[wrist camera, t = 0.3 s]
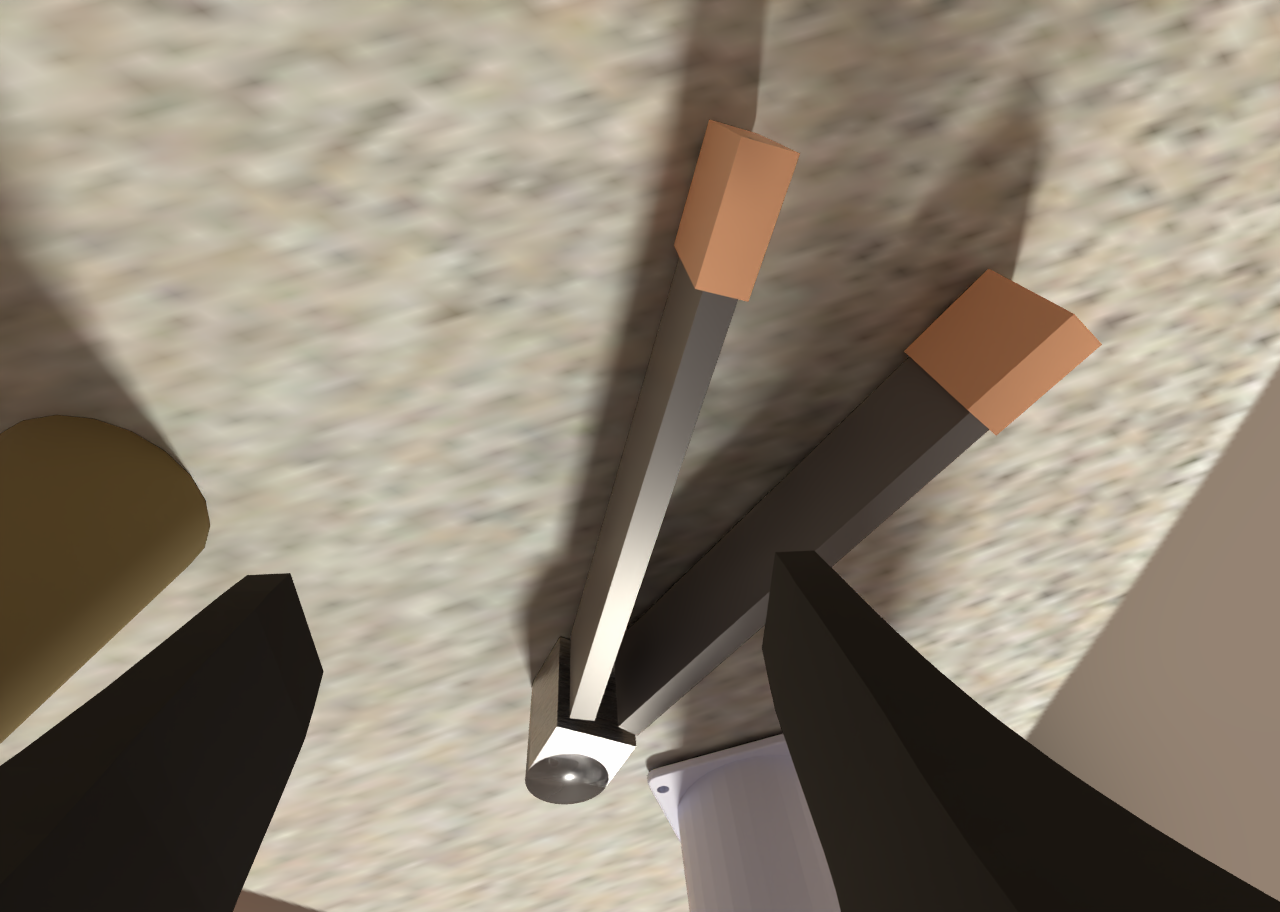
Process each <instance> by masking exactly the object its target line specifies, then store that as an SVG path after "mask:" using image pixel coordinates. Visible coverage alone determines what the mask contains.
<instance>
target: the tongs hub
mask: <svg viewBox="0 0 1280 912" xmlns="http://www.w3.org/2000/svg"><path fill="white" fill-rule="evenodd" d="M570 648H571V640H569V639H566V638H562V637H560V638H559V639H558V641H557V643H556V644H555V646H554V648H553V649H552V651H551V653H550V654H549V656H548V658H547V659H546V661H545V663H544V664H543V666H542V668H541V669H540V671H539V673H538V674H537V676H536V678H535V680H534V682H533V685H532V696H531V710H530V723H529V737H528V750H527V764H526V777H525V783H526V786H527V788H528V790H529V791H530V792H531V793H532V794H533V795H534V796H535V797H537V798H539V799H541V800H543V801H546V802H550V803H555V804H574V803H580V802H584V801H587V800H589V799H592V798H593V797H595V796H597V795H598V794H600V793H601V792H602V791H603V790H604V789H605V787H606V786H607V785H608V783H609V782H610V781H611V779H612V778H613V777H614V775H615V774H616V773H617V771H618V770H619V769H620V767H621V766H622V765H623V763H624V762H625V761H626V759H627V758H628V757H629V755H630V754H631V753H632V751H633V750H634V749H635V747H636V738H635V734H633V733H631V732H629V731H626V730H624V729H622V728H620V727H618V716H617V698H616V681H615V663H614V665H613V668H612V671H611V674H610V677H609V680H608V683H607V685H606V688H605V691H604V694H603V697H602V700H601V703H600V706H599V709H598V712H597V715H596V718H595V721H592V720H583V719H573V718H569V716H570Z"/></svg>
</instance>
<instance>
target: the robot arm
mask: <svg viewBox="0 0 1280 912" xmlns="http://www.w3.org/2000/svg"><path fill="white" fill-rule="evenodd" d="M762 650H763V655H764V660H765V665H766V670H767V675H768V680H769V684H770V689H771V693H772V697H773V702H774V706H775V711H776V714H777V717H778V720H779V723H780V726H781V729H782V732H783V734H780V735H776V736H773V737H769V738H765V739H762V740H758V741H754V742H751V743H747V744H743V745H740V746H736V747H732V748H729V749H725V750H721V751H718V752H714V753H710V754H707V755H703V756H699V757H696V758H692V759H689V760H685V761H681V762H678V763H674V764H670V765H667V766H663V767H659V768H656V769H653V770H651V771H650V772H649V773H648V775H647V779H648V785H649V787H650V789H651V791H652V792H653V794H654V796H655V798H656V800H657V801H658V803H659V805H660V807H661V809H662V810H663V812H664V814H665V816H666V818H667V819H668V821H669V823H670V825H671V827H672V828H673V830H674V832H675V834H676V836H677V837H678V839H679V841H680V843H681V848H682V856H683V863H684V871H685V879H686V887H687V895H688V902H689V910H690V912H1280V902H1279V901H1278V900H1276V899H1274V898H1272V897H1271V896H1269V895H1267V894H1265V893H1264V892H1262V891H1260V890H1258V889H1257V888H1255V887H1253V886H1251V885H1250V884H1248V883H1246V882H1244V881H1243V880H1241V879H1239V878H1237V877H1236V876H1234V875H1233V874H1231V873H1229V872H1227V871H1226V870H1224V869H1222V868H1220V867H1219V866H1217V865H1215V864H1214V863H1212V862H1210V861H1208V860H1207V859H1205V858H1203V857H1201V856H1200V855H1198V854H1196V853H1195V852H1193V851H1191V850H1190V849H1188V848H1186V847H1184V846H1183V845H1182V844H1180V843H1178V842H1177V841H1175V840H1173V839H1172V838H1170V837H1169V836H1167V835H1165V834H1164V833H1162V832H1160V831H1159V830H1157V829H1155V828H1154V827H1152V826H1151V825H1149V824H1147V823H1146V822H1144V821H1143V820H1141V819H1140V818H1138V817H1137V816H1135V815H1134V814H1132V813H1130V812H1129V811H1128V810H1126V809H1124V808H1123V807H1121V806H1120V805H1118V804H1117V803H1115V802H1114V801H1112V800H1111V799H1109V798H1108V797H1106V796H1104V795H1103V794H1101V793H1100V792H1099V791H1097V790H1095V789H1094V788H1092V787H1091V786H1089V785H1088V784H1086V783H1085V782H1083V781H1082V780H1081V779H1079V778H1077V777H1076V776H1075V775H1073V774H1072V773H1070V772H1069V771H1068V770H1066V769H1064V768H1063V767H1062V766H1060V765H1059V764H1057V763H1056V762H1055V761H1053V760H1052V759H1050V758H1049V757H1048V756H1046V755H1045V754H1044V753H1042V752H1041V751H1040V750H1038V749H1037V748H1036V747H1034V746H1033V745H1032V744H1030V743H1029V742H1028V741H1026V740H1025V739H1024V738H1022V737H1021V736H1019V735H1018V734H1017V733H1015V732H1014V731H1013V730H1011V729H1010V728H1009V727H1007V726H1006V725H1005V724H1003V723H1002V722H1001V721H999V720H998V719H997V718H996V717H994V716H993V715H992V714H991V713H989V712H988V711H987V710H986V709H984V708H983V707H982V706H981V705H979V704H978V703H977V702H976V701H974V700H973V699H972V698H971V697H970V696H968V695H967V694H966V693H965V692H964V691H963V690H961V689H960V688H959V687H958V686H957V685H955V684H954V683H953V682H952V681H951V680H949V679H948V678H947V677H946V676H945V675H944V674H942V673H941V672H940V671H939V670H938V669H937V668H935V667H934V666H933V665H932V664H931V663H930V662H929V661H928V660H926V659H925V658H924V657H923V656H922V655H921V654H920V653H919V652H918V651H917V650H915V649H914V648H913V647H912V646H911V645H910V644H909V643H908V642H907V641H906V640H905V639H904V638H903V637H902V636H900V635H899V634H898V633H897V632H896V631H895V630H894V629H893V628H892V627H891V626H890V625H889V624H888V623H887V622H886V621H885V620H884V619H883V618H882V617H880V616H879V615H878V614H877V613H876V612H875V611H874V610H873V609H872V608H871V607H870V606H869V605H868V604H867V603H866V602H865V601H864V600H863V599H862V598H861V597H860V596H859V595H858V594H857V593H856V592H855V591H854V590H853V589H852V588H851V587H850V586H849V585H848V584H847V583H846V582H845V581H844V580H843V579H842V578H841V577H840V576H839V575H838V574H837V573H836V572H835V571H834V570H833V569H832V568H831V567H830V566H829V565H828V564H827V563H826V562H825V561H824V560H823V559H822V558H821V557H820V556H819V555H818V554H817V553H816V552H815V551H791V552H775V557H774V564H773V571H772V579H771V586H770V593H769V601H768V608H767V616H766V623H765V630H764V638H763V645H762ZM322 675H323V669H322V666H321V663H320V660H319V657H318V654H317V651H316V648H315V645H314V642H313V639H312V636H311V633H310V630H309V627H308V624H307V621H306V618H305V615H304V612H303V609H302V606H301V604H300V601H299V598H298V595H297V592H296V589H295V586H294V583H293V580H292V577H291V574H290V573H286V574H264V575H247V576H246V577H244V578H243V579H242V580H240V581H239V582H238V583H236V584H235V585H233V586H232V587H231V588H230V589H228V590H227V591H226V592H224V593H223V594H222V595H221V596H219V597H218V598H217V599H216V600H214V601H213V602H212V603H211V604H209V605H208V606H207V607H206V608H204V609H203V610H202V611H201V612H199V613H198V614H197V615H196V616H195V617H193V618H192V619H191V620H190V621H188V622H187V623H186V624H185V625H184V626H182V627H181V628H180V629H179V630H177V631H176V632H175V633H174V634H172V635H171V636H170V637H169V638H168V639H166V640H165V641H164V642H163V643H161V644H160V645H159V646H158V647H156V648H155V649H154V650H153V651H151V652H150V653H149V654H148V655H146V656H145V657H144V658H143V659H141V660H140V661H139V662H138V663H136V664H135V665H134V666H133V667H131V668H130V669H129V670H128V671H126V672H125V673H124V674H123V675H121V676H120V677H119V678H118V679H116V680H115V681H114V682H113V683H111V684H110V685H109V686H107V687H106V688H105V689H104V690H102V691H101V692H100V693H98V694H97V695H96V696H94V697H93V698H92V699H90V700H89V701H88V702H86V703H85V704H84V705H82V706H81V707H80V708H78V709H77V710H76V711H74V712H73V713H72V714H70V715H69V716H68V717H66V718H65V719H64V720H62V721H61V722H60V723H58V724H57V725H56V726H54V727H53V728H52V729H50V730H49V731H48V732H46V733H45V734H43V735H42V736H41V737H39V738H38V739H37V740H35V741H34V742H33V743H31V744H30V745H29V746H27V747H26V748H25V749H23V750H22V751H21V752H19V753H18V754H16V755H15V756H14V757H12V758H11V759H9V760H8V761H7V762H5V763H4V764H2V765H1V766H0V912H233V910H234V907H235V905H236V902H237V899H238V897H239V895H240V892H241V890H242V888H243V885H244V883H245V881H246V878H247V876H248V873H249V871H250V869H251V866H252V864H253V862H254V859H255V857H256V855H257V852H258V850H259V848H260V845H261V843H262V840H263V838H264V836H265V833H266V831H267V829H268V826H269V824H270V822H271V819H272V817H273V815H274V812H275V810H276V807H277V805H278V803H279V800H280V798H281V796H282V793H283V791H284V788H285V786H286V784H287V781H288V779H289V776H290V774H291V772H292V769H293V767H294V764H295V762H296V760H297V757H298V755H299V752H300V750H301V747H302V745H303V742H304V740H305V737H306V733H307V730H308V727H309V723H310V720H311V716H312V713H313V710H314V706H315V702H316V698H317V694H318V691H319V687H320V683H321V679H322Z"/></svg>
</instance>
